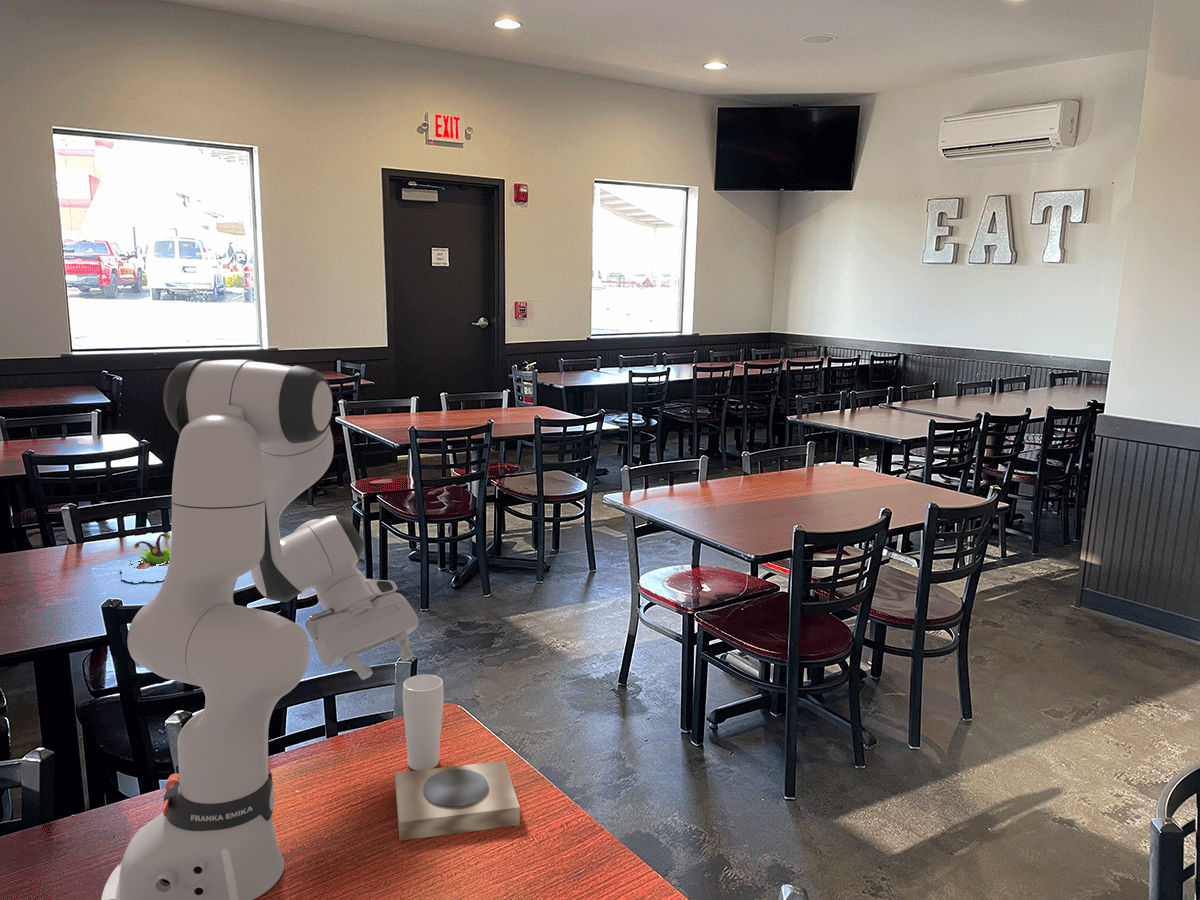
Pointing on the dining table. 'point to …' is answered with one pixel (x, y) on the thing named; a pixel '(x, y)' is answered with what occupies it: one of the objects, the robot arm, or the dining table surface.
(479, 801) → the block
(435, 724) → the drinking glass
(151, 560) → the plant
